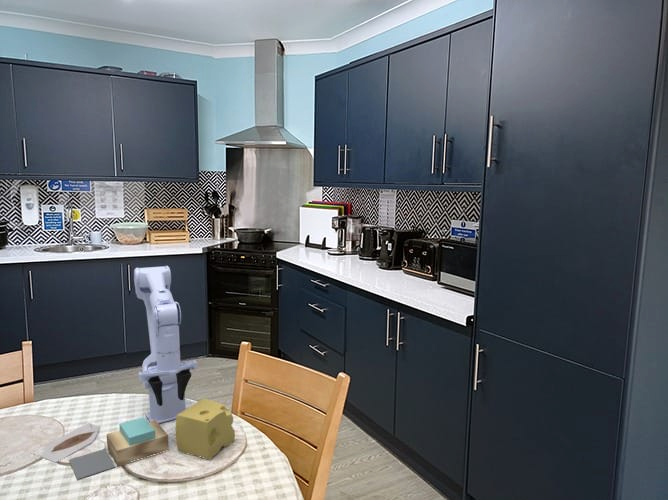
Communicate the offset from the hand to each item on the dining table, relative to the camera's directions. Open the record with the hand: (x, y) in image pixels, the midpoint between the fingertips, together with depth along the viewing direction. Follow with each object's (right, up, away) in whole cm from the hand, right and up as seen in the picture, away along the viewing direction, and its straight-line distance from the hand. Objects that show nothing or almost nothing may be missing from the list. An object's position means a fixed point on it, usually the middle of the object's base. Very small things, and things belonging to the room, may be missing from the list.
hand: (170, 401), depth 123 cm
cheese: (+10, -11, -2) cm, 15 cm away
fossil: (-25, -11, 0) cm, 27 cm away
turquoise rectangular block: (-7, -7, -4) cm, 11 cm away
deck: (-7, -11, -4) cm, 13 cm away
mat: (-15, -12, -10) cm, 22 cm away
